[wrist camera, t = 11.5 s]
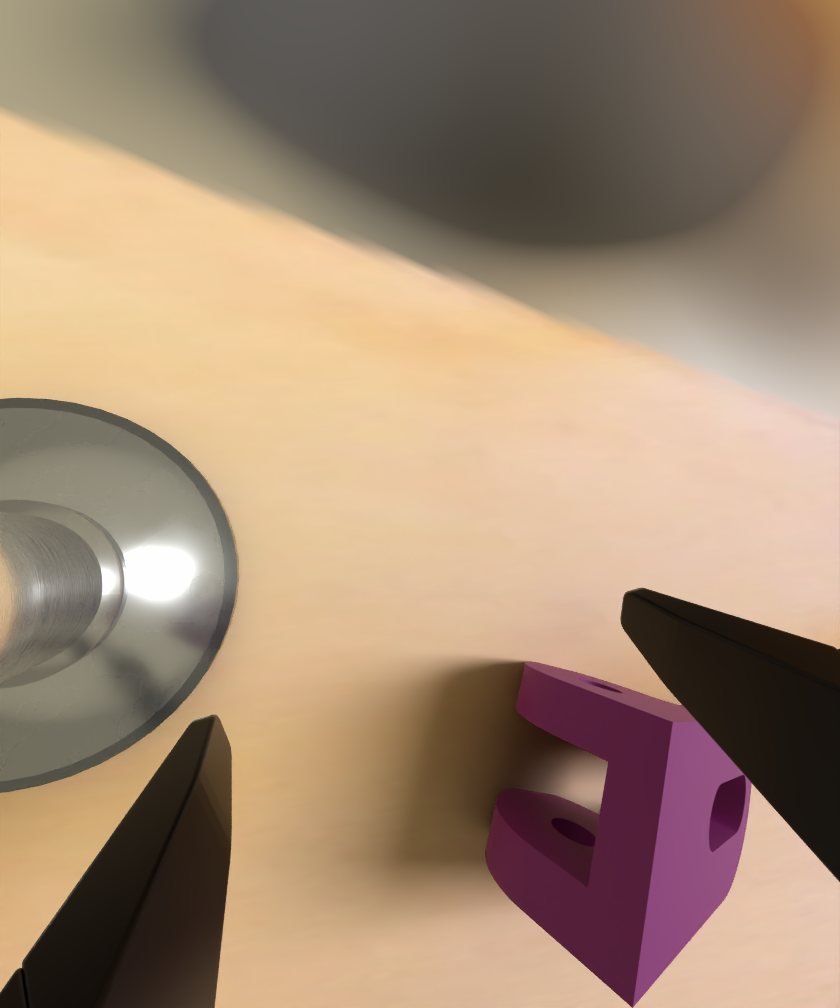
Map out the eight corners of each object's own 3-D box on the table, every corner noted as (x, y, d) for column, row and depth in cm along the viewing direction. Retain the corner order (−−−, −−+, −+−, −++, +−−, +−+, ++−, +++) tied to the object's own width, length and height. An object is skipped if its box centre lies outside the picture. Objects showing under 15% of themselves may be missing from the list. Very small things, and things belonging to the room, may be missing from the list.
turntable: (-286, 786, 15) (-334, 806, 14) (-143, 367, 17) (-174, 353, 16) (204, 777, 20) (198, 791, 18) (265, 444, 22) (264, 438, 21)
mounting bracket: (626, 677, 34) (497, 655, 23) (758, 720, 28) (673, 720, 16) (605, 803, 32) (453, 850, 21) (741, 880, 26) (632, 1008, 15)
